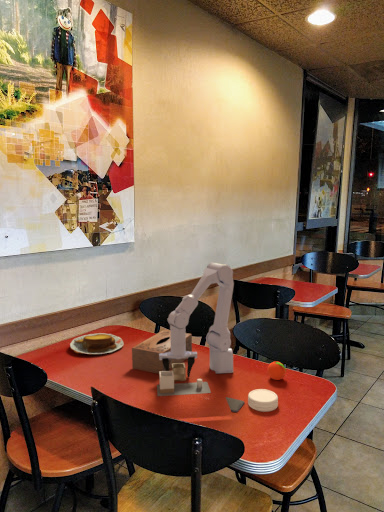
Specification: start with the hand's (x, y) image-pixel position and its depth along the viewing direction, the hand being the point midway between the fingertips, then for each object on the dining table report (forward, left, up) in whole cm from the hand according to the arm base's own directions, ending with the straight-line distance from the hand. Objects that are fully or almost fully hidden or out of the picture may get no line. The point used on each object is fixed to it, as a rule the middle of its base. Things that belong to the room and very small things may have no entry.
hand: (178, 376), depth 156 cm
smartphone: (-13, +19, -2) cm, 23 cm away
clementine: (-38, +4, -2) cm, 38 cm away
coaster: (-27, +22, -2) cm, 35 cm away
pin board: (-1, +9, -2) cm, 9 cm away
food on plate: (+36, -42, -2) cm, 55 cm away
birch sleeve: (0, 0, -2) cm, 2 cm away
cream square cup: (+5, +9, -1) cm, 10 cm away
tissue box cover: (+5, -19, -2) cm, 20 cm away
